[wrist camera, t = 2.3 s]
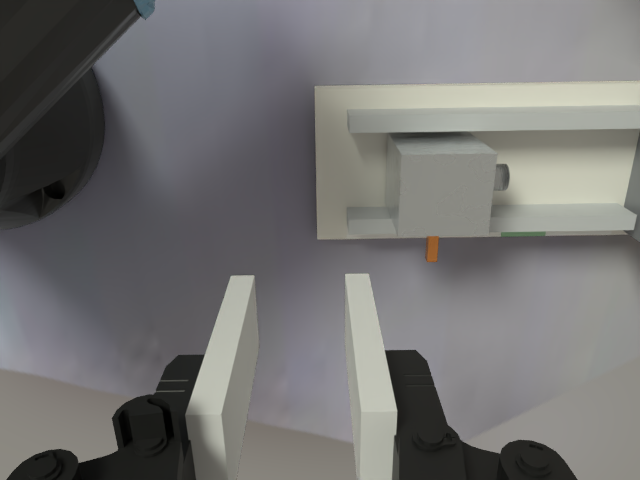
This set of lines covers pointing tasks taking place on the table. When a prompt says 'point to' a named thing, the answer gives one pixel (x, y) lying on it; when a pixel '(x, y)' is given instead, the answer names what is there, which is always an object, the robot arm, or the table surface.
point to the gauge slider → (441, 185)
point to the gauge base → (501, 136)
